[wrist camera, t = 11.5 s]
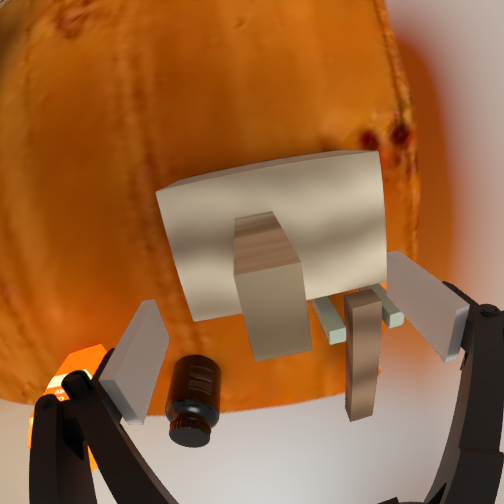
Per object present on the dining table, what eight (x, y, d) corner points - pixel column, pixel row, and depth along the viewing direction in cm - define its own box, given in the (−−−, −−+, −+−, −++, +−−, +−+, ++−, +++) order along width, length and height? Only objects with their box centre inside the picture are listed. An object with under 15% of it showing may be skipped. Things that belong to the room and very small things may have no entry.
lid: (158, 190, 23) (93, 227, 12) (373, 150, 23) (466, 159, 11) (194, 316, 27) (174, 413, 16) (382, 276, 27) (451, 347, 15)
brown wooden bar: (343, 295, 26) (352, 308, 23) (371, 288, 26) (382, 300, 23) (345, 408, 31) (350, 421, 29) (366, 401, 31) (372, 415, 29)
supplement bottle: (164, 366, 39) (147, 430, 28) (200, 346, 38) (190, 414, 27) (195, 393, 41) (188, 456, 30) (231, 376, 40) (230, 442, 29)
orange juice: (101, 343, 37) (44, 448, 18) (133, 385, 40) (99, 490, 21) (68, 353, 38) (12, 445, 19) (99, 392, 41) (61, 485, 22)
